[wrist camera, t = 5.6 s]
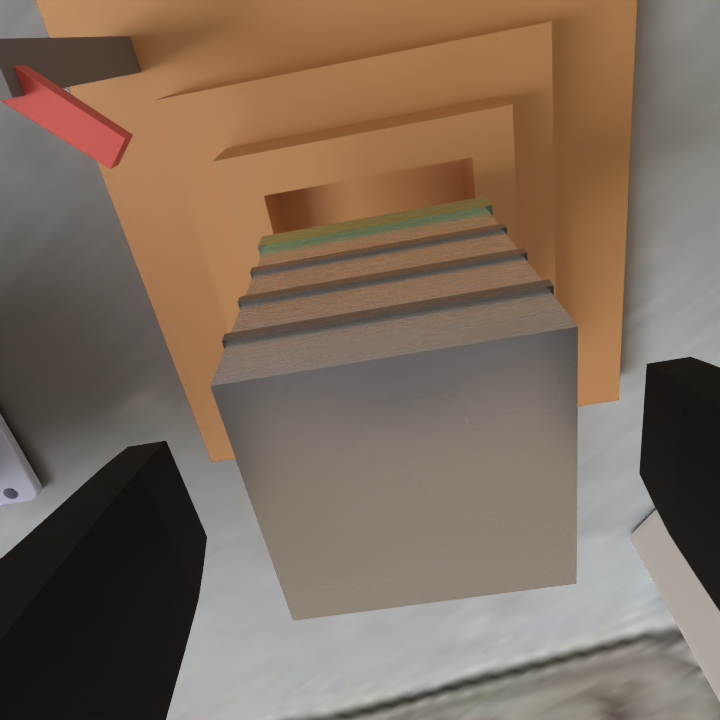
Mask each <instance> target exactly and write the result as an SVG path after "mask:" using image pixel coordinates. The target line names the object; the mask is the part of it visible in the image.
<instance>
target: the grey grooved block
mask: <svg viewBox="0 0 720 720" xmlns="http://www.w3.org/2000/svg"><path fill="white" fill-rule="evenodd" d="M258 249H259V253H260V260H259V262H258V265H257V267H253V268H251V271H250V274H251V278H252V280H251V283H250V285H249V288H248V290H247V293H246V296H241V297H239V300H238V305H239V309H240V311H239V313H238V316H237V319H236V321H235V324H234V326H233V329H232V331H231V333H226V334H224V336H223V339H222V344H223V347H224V352H223V354H222V357H221V360H220V362H219V365H218V367H217V370H216V372H215V375H214V377H213V380H212V383H211V385H210V387H211V390H212V393H213V396H214V398H215V401H216V404H217V407H218V410H219V413H220V415H221V418H222V421H223V424H224V427H225V429H226V432H227V435H228V438H229V441H230V444H231V446H232V449H233V452H234V455H235V458H236V461H237V463H238V466H239V469H240V472H241V475H242V477H243V480H244V483H245V486H246V489H247V492H248V494H249V497H250V500H251V503H252V506H253V509H254V511H255V514H256V517H257V520H258V523H259V526H260V528H261V531H262V534H263V537H264V540H265V542H266V545H267V548H268V551H269V554H270V557H271V559H272V562H273V565H274V568H275V571H276V574H277V576H278V579H279V582H280V585H281V588H282V590H283V593H284V596H285V599H286V602H287V605H288V607H289V610H290V613H291V616H292V619H293V621H294V620H302V619H309V618H317V617H325V616H332V615H340V614H347V613H355V612H363V611H370V610H378V609H386V608H393V607H401V606H408V605H416V604H424V603H431V602H439V601H447V600H454V599H462V598H469V597H477V596H485V595H492V594H500V593H508V592H515V591H523V590H530V589H538V588H546V587H553V586H561V585H569V584H576V566H577V396H578V326H577V325H576V324H575V322H574V321H573V320H572V318H571V317H570V316H569V314H568V313H567V312H566V311H565V309H564V308H563V307H562V305H561V304H560V303H559V302H558V300H557V299H556V298H555V296H554V285H553V284H552V283H551V282H550V280H549V279H548V280H541V278H540V277H539V276H538V274H537V273H536V272H535V271H534V269H533V268H532V267H531V265H530V264H529V263H528V260H527V252H526V250H525V249H524V248H520V249H517V247H516V246H515V245H514V243H513V242H512V241H511V240H510V238H509V237H508V236H507V227H506V226H505V224H498V223H497V222H496V220H495V219H494V218H493V210H492V204H491V203H490V202H489V201H488V199H487V198H486V197H479V198H474V199H468V200H463V201H457V202H451V203H446V204H440V205H435V206H429V207H423V208H418V209H412V210H407V211H401V212H395V213H390V214H384V215H379V216H373V217H368V218H362V219H356V220H351V221H345V222H340V223H334V224H328V225H323V226H317V227H312V228H306V229H300V230H295V231H289V232H284V233H278V234H273V235H267V236H262V238H261V240H260V243H259V245H258Z"/></svg>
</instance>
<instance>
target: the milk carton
mask: <svg viewBox="0 0 720 720" xmlns="http://www.w3.org/2000/svg"><path fill="white" fill-rule="evenodd" d="M630 540H631V542H632V544H633V546H634V547H635V549H636V551H637V553H638V555H639V556H640V558H641V560H642V562H643V564H644V566H645V567H646V569H647V571H648V573H649V575H650V576H651V578H652V580H653V582H654V584H655V585H656V587H657V589H658V591H659V593H660V594H661V596H662V598H663V600H664V602H665V604H666V605H667V607H668V609H669V611H670V613H671V614H672V616H673V618H674V620H675V622H676V623H677V625H678V627H679V629H680V631H681V633H682V634H683V636H684V638H685V640H686V642H687V643H688V645H689V647H690V649H691V651H692V652H693V654H694V656H695V658H696V660H697V661H698V663H699V665H700V667H701V669H702V671H703V672H704V674H705V676H706V678H707V680H708V681H709V683H710V685H711V687H712V689H713V690H714V692H715V694H716V696H717V698H718V700H719V701H720V611H719V610H718V608H717V607H716V605H715V604H714V602H713V601H712V599H711V598H710V596H709V595H708V593H707V592H706V590H705V589H704V587H703V586H702V584H701V583H700V581H699V580H698V578H697V577H696V575H695V574H694V572H693V570H692V569H691V567H690V566H689V564H688V563H687V561H686V560H685V558H684V557H683V555H682V554H681V552H680V551H679V549H678V547H677V546H676V544H675V543H674V541H673V540H672V538H671V536H670V535H669V533H668V531H667V529H666V527H665V525H664V523H663V521H662V519H661V517H660V515H659V513H658V511H657V509H656V510H655V511H654V512H653V513H652V514H651V515H650V516H649V517H648V518H647V519H646V520H645V521H644V522H643V523H642V524H641V525H640V526H639V527H638V528H637V529H636V530H635V531H634V532H633V533H632V534H631V535H630Z"/></svg>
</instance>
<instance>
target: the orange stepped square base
mask: <svg viewBox="0 0 720 720" xmlns="http://www.w3.org/2000/svg"><path fill="white" fill-rule="evenodd" d="M36 2H37V5H38V8H39V10H40V13H41V16H42V18H43V21H44V23H45V26H46V29H47V31H48V34H49V37H50V38H19V39H0V101H2V102H3V103H5V104H7V105H8V106H10V107H12V108H13V109H15V110H16V111H18V112H20V113H21V114H23V115H24V116H26V117H28V118H29V119H31V120H32V121H34V122H36V123H37V124H39V125H40V126H42V127H44V128H45V129H47V130H48V131H50V132H52V133H53V134H55V135H56V136H58V137H60V138H61V139H63V140H64V141H66V142H68V143H69V144H71V145H72V146H74V147H76V148H77V149H79V150H80V151H82V152H84V153H85V154H87V155H88V156H90V157H92V158H93V159H95V160H96V161H97V163H98V165H99V168H100V170H101V173H102V176H103V178H104V181H105V184H106V186H107V189H108V191H109V194H110V197H111V199H112V202H113V205H114V207H115V210H116V212H117V215H118V218H119V220H120V223H121V226H122V228H123V231H124V233H125V236H126V239H127V241H128V244H129V247H130V249H131V252H132V254H133V257H134V260H135V262H136V265H137V268H138V270H139V273H140V275H141V278H142V281H143V283H144V286H145V289H146V291H147V294H148V296H149V299H150V302H151V304H152V307H153V310H154V312H155V315H156V317H157V320H158V323H159V325H160V328H161V331H162V333H163V336H164V338H165V341H166V344H167V346H168V349H169V352H170V354H171V357H172V359H173V362H174V365H175V367H176V370H177V373H178V375H179V378H180V380H181V383H182V386H183V388H184V391H185V394H186V396H187V399H188V401H189V404H190V407H191V409H192V412H193V415H194V417H195V420H196V422H197V425H198V428H199V430H200V433H201V436H202V438H203V441H204V443H205V446H206V449H207V451H208V454H209V457H210V459H211V462H214V461H221V460H227V459H234V458H235V455H234V452H233V449H232V446H231V444H230V441H229V438H228V435H227V432H226V429H225V427H224V424H223V421H222V418H221V415H220V413H219V410H218V407H217V404H216V401H215V398H214V396H213V393H212V390H211V387H210V385H211V383H212V380H213V377H214V375H215V372H216V370H217V367H218V365H219V362H220V360H221V357H222V354H223V352H224V347H223V344H222V339H223V336H224V334H226V333H231V331H232V329H233V326H234V324H235V321H236V319H237V316H238V313H239V311H240V309H239V305H238V300H239V297H241V296H246V293H247V290H248V288H249V285H250V283H251V280H252V278H251V274H250V271H251V268H253V267H257V265H258V262H259V260H260V253H259V249H258V245H259V243H260V240H261V238H262V236H267V235H273V234H278V233H284V232H289V231H295V230H300V229H306V228H312V227H317V226H323V225H328V224H334V223H340V222H345V221H351V220H356V219H362V218H368V217H373V216H379V215H384V214H390V213H395V212H401V211H407V210H412V209H418V208H423V207H429V206H435V205H440V204H446V203H451V202H457V201H463V200H468V199H474V198H479V197H486V198H487V199H488V201H489V202H490V203H491V204H492V210H493V218H494V219H495V220H496V222H497V223H498V224H505V226H506V227H507V236H508V237H509V238H510V240H511V241H512V242H513V243H514V245H515V246H516V247H517V249H520V248H524V249H525V250H526V252H527V260H528V263H529V264H530V265H531V267H532V268H533V269H534V271H535V272H536V273H537V274H538V276H539V277H540V278H541V280H548V279H549V280H550V282H551V283H552V284H553V285H554V296H555V298H556V299H557V300H558V302H559V303H560V304H561V305H562V307H563V308H564V309H565V311H566V312H567V313H568V314H569V316H570V317H571V318H572V320H573V321H574V322H575V324H576V325H577V326H578V396H577V406H582V405H589V404H595V403H602V402H608V401H615V400H619V381H620V360H621V338H622V317H623V295H624V274H625V253H626V231H627V210H628V189H629V167H630V146H631V124H632V103H633V82H634V60H635V39H636V17H637V0H36ZM66 87H69V89H70V92H71V94H72V95H71V94H70V93H68V92H67V91H65V90H64V89H62V88H66Z"/></svg>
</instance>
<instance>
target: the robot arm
mask: <svg viewBox="0 0 720 720" xmlns="http://www.w3.org/2000/svg"><path fill="white" fill-rule="evenodd" d="M640 475H641V478H642V480H643V482H644V484H645V486H646V488H647V490H648V492H649V495H650V497H651V499H652V501H653V503H654V505H655V507H656V509H657V511H658V513H659V515H660V517H661V519H662V521H663V523H664V525H665V527H666V529H667V531H668V533H669V535H670V536H671V538H672V540H673V541H674V543H675V544H676V546H677V547H678V549H679V551H680V552H681V554H682V555H683V557H684V558H685V560H686V561H687V563H688V564H689V566H690V567H691V569H692V570H693V572H694V574H695V575H696V577H697V578H698V580H699V581H700V583H701V584H702V586H703V587H704V589H705V590H706V592H707V593H708V595H709V596H710V598H711V599H712V601H713V602H714V604H715V605H716V607H717V608H718V610H719V611H720V368H719V367H717V366H714V365H712V364H709V363H706V362H704V361H701V360H698V359H695V358H692V357H687V358H680V359H674V360H668V361H662V362H655V363H649V364H647V369H646V384H645V399H644V414H643V429H642V444H641V459H640ZM10 488H12V489H14V490H16V491H17V492H15V491H13V490H11V489H10ZM41 489H42V486H41V483H40V482H39V480H38V478H37V476H36V475H35V473H34V471H33V469H32V468H31V466H30V464H29V462H28V461H27V459H26V457H25V455H24V454H23V452H22V450H21V449H20V447H19V445H18V443H17V442H16V440H15V438H14V436H13V435H12V433H11V431H10V429H9V428H8V426H7V424H6V422H5V421H4V419H3V417H2V416H1V414H0V505H5V504H12V503H19V502H25V501H31V500H34V499H35V498H36V497H37V496H38V495H39V493H40V492H41ZM206 541H207V536H206V533H205V531H204V529H203V526H202V524H201V522H200V519H199V517H198V515H197V512H196V510H195V508H194V505H193V503H192V501H191V498H190V496H189V494H188V491H187V489H186V486H185V484H184V482H183V479H182V477H181V475H180V472H179V470H178V468H177V465H176V463H175V461H174V458H173V456H172V454H171V451H170V449H169V447H168V444H167V442H166V441H162V442H156V443H149V444H143V445H137V446H131V447H127V448H126V449H125V450H123V451H122V452H121V453H120V454H118V455H117V456H116V457H114V458H113V459H112V460H111V461H110V462H108V463H107V464H106V465H105V466H104V467H103V468H101V469H100V470H99V471H98V472H97V473H96V474H95V475H94V476H92V477H91V478H90V479H89V480H88V481H87V482H86V483H85V484H84V485H82V486H81V487H80V488H79V489H78V490H77V491H76V492H75V493H74V494H73V495H71V496H70V497H69V498H68V499H67V500H66V501H65V502H64V503H63V504H62V505H60V506H59V507H58V508H57V509H56V510H55V511H54V512H53V513H52V514H50V515H49V516H48V517H47V518H46V519H45V520H44V521H43V522H42V523H41V524H39V525H38V526H37V527H36V528H35V529H34V530H33V531H32V532H31V533H29V534H28V535H27V536H26V537H25V538H24V539H23V540H22V541H21V542H19V543H18V544H17V545H16V546H15V547H14V548H13V549H12V550H10V551H9V552H8V553H7V554H6V555H5V556H3V557H2V558H1V559H0V720H166V717H167V713H168V710H169V706H170V703H171V699H172V695H173V692H174V688H175V685H176V681H177V677H178V674H179V670H180V667H181V663H182V659H183V656H184V652H185V648H186V645H187V641H188V637H189V634H190V630H191V626H192V622H193V619H194V615H195V611H196V607H197V603H198V599H199V593H200V586H201V580H202V573H203V566H204V557H205V549H206Z"/></svg>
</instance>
